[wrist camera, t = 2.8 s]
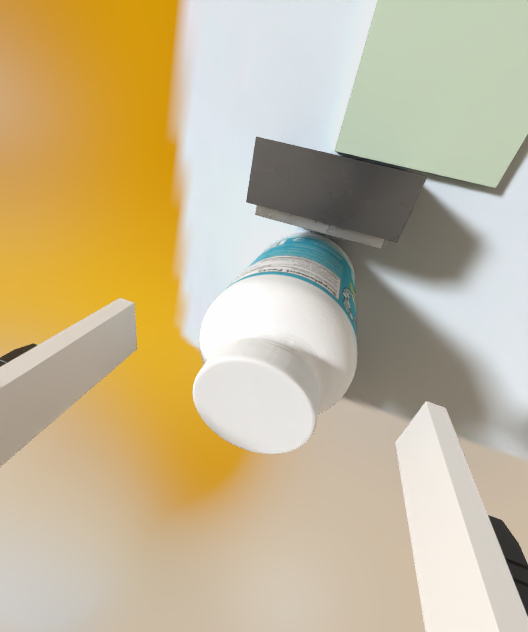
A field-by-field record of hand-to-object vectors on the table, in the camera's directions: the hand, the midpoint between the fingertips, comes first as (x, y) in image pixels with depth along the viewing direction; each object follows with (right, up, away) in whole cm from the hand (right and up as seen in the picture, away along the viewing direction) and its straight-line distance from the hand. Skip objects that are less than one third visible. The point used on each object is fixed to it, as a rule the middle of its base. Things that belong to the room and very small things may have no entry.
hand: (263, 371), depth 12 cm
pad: (+9, +15, +2) cm, 18 cm away
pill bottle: (+3, +5, +9) cm, 11 cm away
